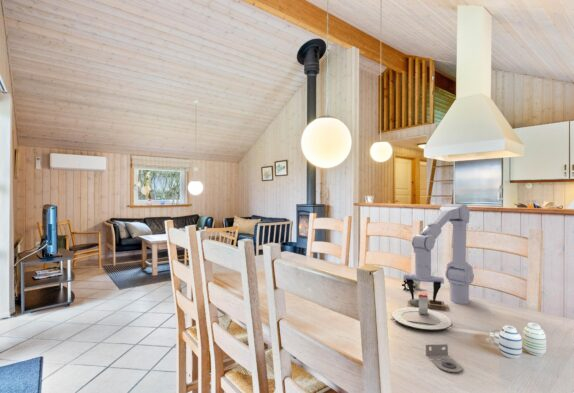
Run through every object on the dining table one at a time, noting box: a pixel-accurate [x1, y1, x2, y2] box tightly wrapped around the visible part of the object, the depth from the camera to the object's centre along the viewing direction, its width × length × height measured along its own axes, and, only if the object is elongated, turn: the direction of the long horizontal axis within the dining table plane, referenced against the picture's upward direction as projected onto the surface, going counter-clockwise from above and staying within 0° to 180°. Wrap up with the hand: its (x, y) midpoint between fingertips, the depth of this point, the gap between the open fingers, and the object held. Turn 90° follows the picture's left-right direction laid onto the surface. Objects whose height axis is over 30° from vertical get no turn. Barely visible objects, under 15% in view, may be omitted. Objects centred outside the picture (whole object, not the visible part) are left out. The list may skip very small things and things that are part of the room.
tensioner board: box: [407, 298, 451, 312], centre depth 131 cm, size 8×16×3 cm, turn 68°
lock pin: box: [418, 292, 429, 316], centre depth 122 cm, size 3×3×7 cm
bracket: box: [425, 343, 463, 373], centre depth 88 cm, size 7×10×4 cm, turn 2°
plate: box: [391, 307, 452, 331], centre depth 118 cm, size 21×21×2 cm
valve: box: [401, 279, 421, 292], centre depth 157 cm, size 7×7×12 cm
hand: (423, 299), depth 122 cm, fingers open, 7 cm apart
